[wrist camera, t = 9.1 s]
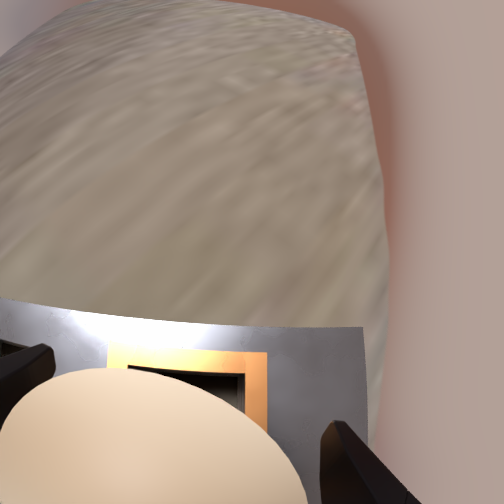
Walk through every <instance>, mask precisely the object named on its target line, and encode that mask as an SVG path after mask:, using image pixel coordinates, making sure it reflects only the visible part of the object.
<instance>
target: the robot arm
mask: <svg viewBox="0 0 504 504" xmlns="http://www.w3.org/2000/svg"><path fill="white" fill-rule="evenodd" d="M55 371H56V362H55V355H54V350H53V348H52V347H51V346H48V345H46V344H44V343H40V344H37V345H35V346H32V347H29V348H26V349H23V350H20V351H18V352H15V353H12V354H9V355H6V356H3V357H0V431H1V429H2V426H3V424H4V422H5V420H6V418H7V417H8V415H9V414H10V412H11V410H12V409H13V407H14V406H15V405H16V404H17V403H18V402H19V401H20V400H21V399H22V398H23V397H24V396H25V395H26V394H27V393H29V392H30V391H31V390H33V389H34V388H35V387H37V386H38V385H40V384H42V383H44V382H46V381H48V380H50V379H52V378H53V376H54V374H55ZM319 481H320V493H321V504H421V503H420V502H419V501H418V500H417V499H416V498H415V497H414V496H413V495H412V494H411V493H410V492H409V491H407V488H406V487H405V486H404V485H403V484H402V483H401V482H400V481H399V480H398V479H397V478H396V477H395V476H394V475H393V474H392V473H391V471H390V470H389V469H388V468H387V467H386V466H385V465H384V464H383V463H382V462H381V461H380V460H379V458H377V456H376V455H375V454H374V453H373V452H372V451H371V450H370V449H369V447H368V446H367V445H366V444H365V443H364V442H363V441H362V440H361V439H360V437H359V436H358V435H357V434H356V433H355V432H354V431H353V430H352V429H351V427H350V426H349V425H348V424H347V423H346V422H345V421H341V420H332V421H331V422H330V423H329V425H328V427H327V428H326V430H325V431H324V433H323V434H322V436H321V440H320V473H319Z"/></svg>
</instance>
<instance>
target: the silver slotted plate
mask: <svg viewBox="0 0 504 504" xmlns="http://www.w3.org/2000/svg"><path fill="white" fill-rule="evenodd" d="M3 343H6V344H10V345H14V346H17V347H21V348H25V349H26V348H29V347H32V346H35V345H37V344H40V343H44V344H46V345H48V346H51V347H52V348H53V350H54V355H55V362H56V371H55V374H54V376H53V378H54V377H57V376H60V375H63V374H66V373H69V372H74V371H80V370H85V369H94V368H123V369H134V370H140V371H141V370H146V371H155V372H165V373H177V374H189V375H205V376H228V377H237V410H239V411H241V412H242V413H243V414H245V415H246V416H247V417H248V418H250V419H251V420H252V421H253V422H255V423H256V424H257V425H258V426H260V427H261V428H262V429H263V430H264V431H265V432H266V433H267V434H268V435H269V436H270V437H271V438H272V439H273V440H274V441H275V442H276V443H277V445H278V446H279V447H280V448H281V450H282V451H283V452H284V454H285V455H286V456H287V457H288V459H289V460H290V462H291V464H292V465H293V467H294V469H295V471H296V472H297V474H298V476H299V478H300V480H301V483H302V485H303V488H304V490H305V493H306V497H307V502H308V504H321V493H320V481H319V473H320V440H321V436H322V434H323V433H324V431H325V430H326V428H327V427H328V425H329V423H330V422H331V421H332V420H341V421H345V422H346V423H347V424H348V425H349V426H350V427H351V429H352V430H353V431H354V432H355V433H356V434H357V435H358V436H359V437H360V439H361V440H362V441H363V442H364V443H365V444H366V445H367V446H368V417H367V383H366V364H365V349H364V337H363V327H337V328H292V327H252V326H229V325H211V324H195V323H182V322H169V321H158V320H148V319H138V318H128V317H120V316H111V315H103V314H95V313H88V312H81V311H74V310H67V309H61V308H55V307H48V306H43V305H37V304H31V303H26V302H20V301H15V300H10V299H5V298H0V357H1V352H2V344H3Z"/></svg>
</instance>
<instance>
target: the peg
mask: <svg viewBox="0 0 504 504" xmlns="http://www.w3.org/2000/svg"><path fill="white" fill-rule="evenodd" d="M0 501H1V504H308V502H307V497H306V493H305V490H304V488H303V485H302V483H301V480H300V478H299V476H298V474H297V472H296V471H295V469H294V467H293V465H292V464H291V462H290V460H289V459H288V457H287V456H286V455H285V454H284V452H283V451H282V450H281V448H280V447H279V446H278V445H277V443H276V442H275V441H274V440H273V439H272V438H271V437H270V436H269V435H268V434H267V433H266V432H265V431H264V430H263V429H262V428H261V427H260V426H258V425H257V424H256V423H255V422H253V421H252V420H251V419H250V418H248V417H247V416H246V415H245V414H243V413H242V412H241V411H239V410H237V409H236V408H234V407H233V406H231V405H230V404H228V403H227V402H225V401H223V400H222V399H220V398H218V397H216V396H214V395H212V394H210V393H208V392H206V391H204V390H202V389H200V388H198V387H195V386H193V385H190V384H187V383H185V382H182V381H180V380H177V379H174V378H170V377H166V376H163V375H159V374H156V373H151V372H145V371H140V370H134V369H123V368H94V369H85V370H80V371H74V372H69V373H66V374H63V375H60V376H57V377H54V378H52V379H50V380H48V381H46V382H44V383H42V384H40V385H38V386H37V387H35V388H34V389H33V390H31V391H30V392H29V393H27V394H26V395H25V396H24V397H23V398H22V399H21V400H20V401H19V402H18V403H17V404H16V405H15V406H14V407H13V409H12V410H11V412H10V414H9V415H8V417H7V418H6V420H5V422H4V424H3V426H2V429H1V431H0Z"/></svg>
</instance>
